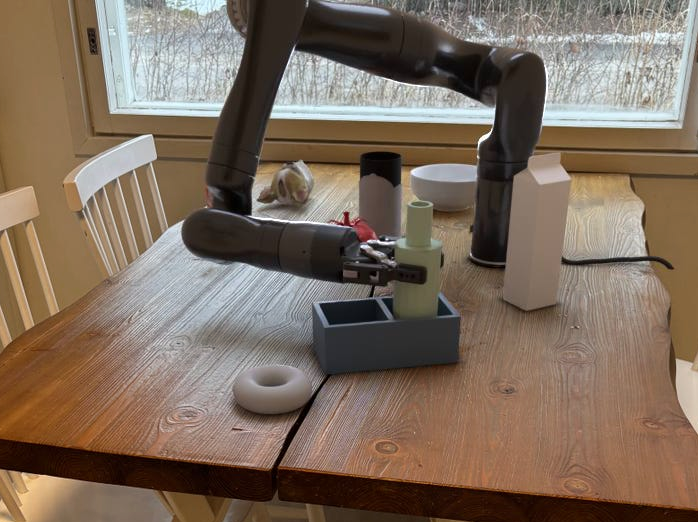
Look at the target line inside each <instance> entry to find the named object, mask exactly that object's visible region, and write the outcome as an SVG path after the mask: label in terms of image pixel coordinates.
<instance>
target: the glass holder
mask: <svg viewBox="0 0 698 522" xmlns="http://www.w3.org/2000/svg"><path fill="white" fill-rule="evenodd" d="M402 163H403V156H402V154H401V153H398V152H394V151H384V150H382V151H381V150H380V151H377V150H376V151H368V152H363V153H361V154H360V155H359V180H358V217H361V218H362V219H365V220H366V221H368V222H370V223H368V222H365V221H360V222H363V223H365V224H366V225H367V226H368V227H370V228H371V229H372V230H373V231H374V232H375V234H376V237H377V239H378V241H379V237H380V236H382V235H385V236H390V237H395V238H403V235H402V204H403V203H402V201H403V183H402V167H403V166H402V165H403V164H402ZM361 218H358V220H360V219H361Z"/></svg>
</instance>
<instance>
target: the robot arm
mask: <svg viewBox="0 0 698 522" xmlns="http://www.w3.org/2000/svg"><path fill="white" fill-rule="evenodd" d="M225 3H226V4H225V8H226V9H225V10H226V14H227V18H228V21H229V23H230V25H231V26H232V28H233V29H234V30H235V32H236V33H237V34H238V36H240V37H241V38H242V39H244V47H243V52H242V56H241V59H240V63H239V66H238V69H237V72H236V75H235V78H234V81H233V83H232V85H231V89H230V90H229V92H228V95H227V97H226V99H225V102H224V104H223V106H222V108H221V111H220V113H219V116H218V119H217V121H216V125H215V128H214V130H213V134H212V138H211V143H210V146H209V150H208V155H207V159H206V165H205V169H204V176H203V180H204V181H203V182H204V185H205V184H206V186H207V187H208V188H209V190H210V191H211V193H212V208H207V207H200V208H196V209H195V210H193V211H191V212H190V213H189V214H188V215H187V216H186V217H185V218H184V220H183V222H182V225H181V227H180V228H181V230H180V235H181V240H182V243H183V245H184V246H185V248H186V249H187V251H188V252H189V253H190V254H191V255H193V256H195V257H196V258H199V259H202V260H205V261H207V262H209V263H210V262H211V263H214V264H217V265H219V266H231V265H233V264H236V263H238V264H245V265H249V266H251V267H254V268H256V269H261V270H264V271H269V272H276V273H283V274H287V275H288V274H289V275H292V276H295V277H299V278H303V279H310V280H316V281H320V282H321V281H322V282H327V283H328V282H329V283H336V284H341V285H345V284H353V285H361V286H372V287H379V288H385V287H388V285H389V283H390V284H394V283H397V280H398V281H399V282H406V283H413V284H419V285H423V284H424V283H426V281H427V268H426V267H424V266H417V265H410V264H403V263H400V264H399V266H398V263H397V262H394V260H393V258H395V242H396V241H397V240H398V239H400V238H395V237H390V236H385V235H382V236H380V237H379V241H378V240H369V241H367V242H364V243H363V242H362V241H361V240H360V239H359V236H358V233H357V231H356V230H355V229H354V228H352V227H347V226H339V225H335V224H330V223H323V222H317V221H316V222H315V221H308V220H307V221H306V220H304V221H302V220H301V221H296V220H295V221H294V220H284V219H279V218H277V219H276V218H267V217H266V218H265V217H264V218H263V217H256V216H253V188H254V184H255V181H256V177H257V172H258V168H259V163H260V159H261V155H262V151H263V147H264V143H265V139H266V134H267V130H268V126H269V122H270V120H271V116H272V113H273V109H274V106H275V102H276V100H277V98H278V97H277V96H278V93H279V90H280V88H281V84H282V81H283V79H284V77H285V73H286V70H287V68H288V65H289V62H290V60H291V57H292V54H293V53H294V52H298V53H299V52H300V53H304V54H308V55H313V56H317V57H320V58H323V59H326V60H329V61H331V62H334V63H336V64H339V65H342V66H344V67H346V68H351V69H353V70H356V71H360V72H362V73H365V74H367V75H372V76H374V77H378V78H381V79H385V80H388V81H391V82H394V83H398V84H404V85H409V86H414V87H415V86H416V87H423V88H424V87H425V88H440V89H445V90H448V91H452V92H454V93H457V94H459V95H461V96H464V97H466V98H468V99H470V100H473V101H475V102H477V103H479V104H481V105H483V106H485V107H487V108H489V109H492V110H494V114H493V115H494V116H493V122H492V128H491V131H490V132H489V133H487V134H485V135H482V137H480V139H479V141H478V145H477V155H476V157H477V158H476V166H477V171H476V186H475V201H474V205H473V218H472V224H470V225H469V231H468V234H471V245H470V255H469V259H470V260H471V261H472V262H473V263H475V264H478V265H481V266H485V267H491V268H492V267H493V268H506V258H507V247H508V236H509V225H510V214H511V203H512V192H513V181H514V176H515V175H516V174H518V173H520V172H521V171H523V170H525V169H526V168H527V167H528V159H529V157H532V156H535V151H536V147H537V145H538V143H539V140H540V138H541V134H542V130H543V123H544V122H543V121H544V115H545V110H546V104H547V98H548V97H547V96H548V84H549V77H548V69H547V66H546V63H545V61H544V60H543V58H542V57H541V56H540V55H539V54H538V53H535V52H532V51H529V50H524V49H521V48H520V49H519V48H515V47H509V46H499V45H498V46H497V45H490V44H484V43H478V42H473V41H469V40H465V39H462V38H459V37H456V36H454V35H452V34H451V33H449V32H448V31H446V30H445V29H443V28H442V27H441V26H438V25H436V24H435V23H433V22H432V21H429V20H428V19H424V18H422V17H420V16H418V15H415V14H412V13H409V12H406V11H402V10H399V9H397V8H393V7H389V6H384V5H380V4H379V5H378V4H371V3H362V2H361V3H359V2H347V1H346V2H344V1H333V0H226V2H225ZM641 262H656V263H659V264H661V265H664V267H665V268H667V269H668V270H671V271H672V270H673V271H674V270H675V267H674V266H673V264H671V263H670V261H668V260H667V259H665V258H663V257H660V256H656V255H643V256H642V255H641V256H617V257H616V256H615V257H607V258H587V259H580V260H571V259H568V258H565V257H564V256H563V255H562V260H561V264H563V265H569V266H587V265H603V264H604V265H605V264H614V263H641ZM444 264H445V253H444V252H443V251H442V250H441V264H440V270H441V269H442V268H443V267H444Z"/></svg>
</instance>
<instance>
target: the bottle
mask: <svg viewBox="0 0 698 522" xmlns="http://www.w3.org/2000/svg"><path fill="white" fill-rule="evenodd" d="M433 213H434V209H433V204H432V203H431V202H427V201H421V200H412V201H409V202H407V206H406V225H405V227H406V228H405V229H406V230H405V237H402V238H400V239H398V240H397V241H396V242H395V258H394V257H393V258H394V259H393V261H394V262H397V263H398V266H399V264H400V263H403V264H410V265H417V266H424V267H426V268H427V281H426V283H424V284H423V285H419V284H413V283H406V282H399V281H398V280H397V283H393V291H392V292H393V293H392V296H393V318H394V319H395V320H398V319H410V318H422V317H434V316H437V312H438V296H439V292H440V278H441V269H440V264H441V251H442V249H443V248H442V242H441V241H440V240H438V239H436V238H435V237H434V238H433V237H432V233H433V217H434V216H433V215H434V214H433Z"/></svg>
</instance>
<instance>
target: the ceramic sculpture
mask: <svg viewBox="0 0 698 522" xmlns="http://www.w3.org/2000/svg"><path fill="white" fill-rule="evenodd" d="M314 187H315V178H314V177H313V175H312V172H311V170H310V168H309V167H308V166H307V165H306V164H305V163H304V161H303V160H302V159H299V160H298V161H296V162H295V161H289V160H288V161H286V162H285V163H284V164H283V165H282V167H281V169H278V170H277V171H276V173H275V174H273V178H272V180H271V184H270V185H268V186H264V188H263V189H262V190H261V191H260V193H259V195H258V198H256V200H255V201H256V202H257V203H261V204H264V205H268V204H269V205H270V204H272V203H273V202H274V201H277V202H278V203H279V204H281V205H285V206H298V207H303V206H305V205H306V204H307V202H308V200H309V197H310V195H311V194H312V192H313V190H314Z"/></svg>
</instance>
